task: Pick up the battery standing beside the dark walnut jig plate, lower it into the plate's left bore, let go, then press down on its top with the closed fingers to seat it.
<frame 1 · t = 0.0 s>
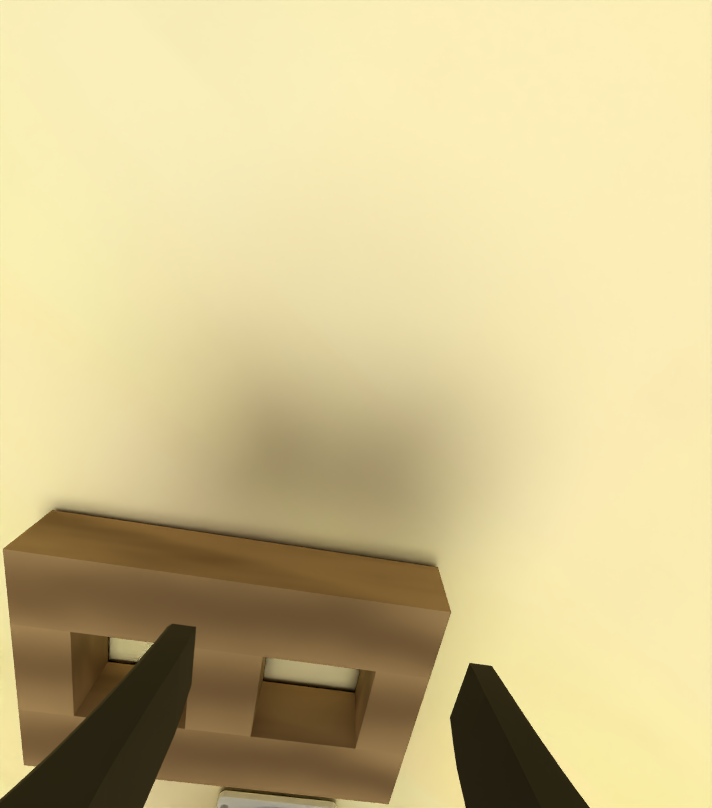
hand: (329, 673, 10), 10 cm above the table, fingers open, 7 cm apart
jig plate: (238, 641, 23), on the table
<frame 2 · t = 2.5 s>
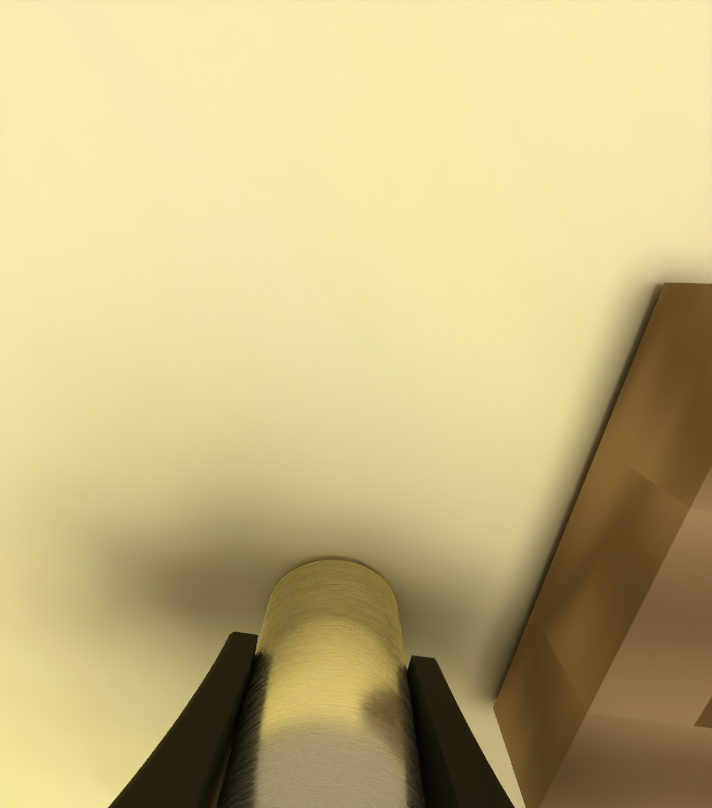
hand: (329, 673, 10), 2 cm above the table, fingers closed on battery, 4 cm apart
battery: (332, 613, 12), on the table, touching gripper
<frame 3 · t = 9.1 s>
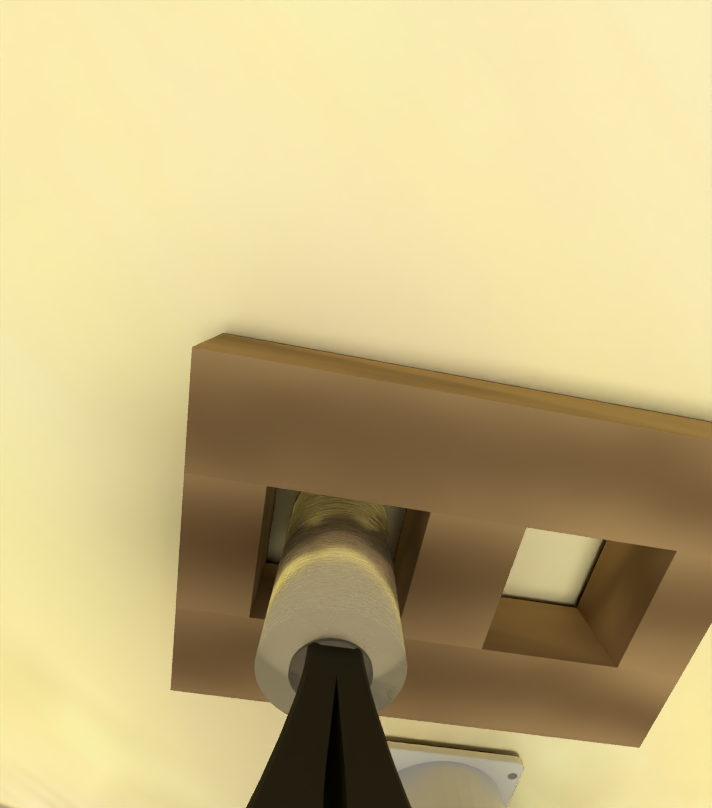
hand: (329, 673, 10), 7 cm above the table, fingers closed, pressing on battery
jig plate: (440, 534, 17), on the table
battery: (339, 517, 17), resting in jig plate, touching gripper
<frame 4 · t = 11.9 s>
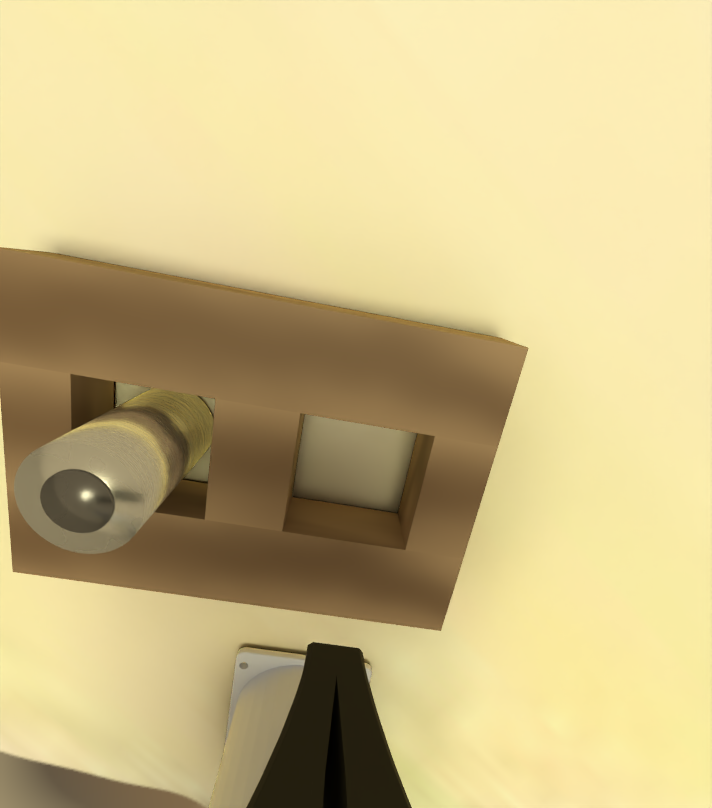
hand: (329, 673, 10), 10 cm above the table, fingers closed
jig plate: (265, 441, 20), on the table
battery: (173, 425, 19), resting in jig plate
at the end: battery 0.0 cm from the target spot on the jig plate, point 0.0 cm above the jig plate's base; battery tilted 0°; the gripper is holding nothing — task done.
